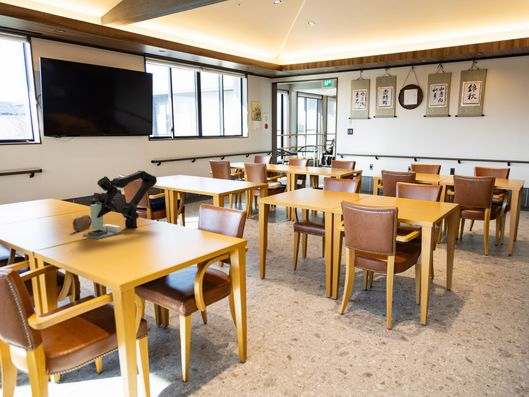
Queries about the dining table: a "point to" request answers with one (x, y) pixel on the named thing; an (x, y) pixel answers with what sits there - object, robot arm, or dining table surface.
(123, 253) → the dining table surface
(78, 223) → the tin
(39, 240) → the dining table surface
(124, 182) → the robot arm
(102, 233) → the baseplate
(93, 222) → the post
